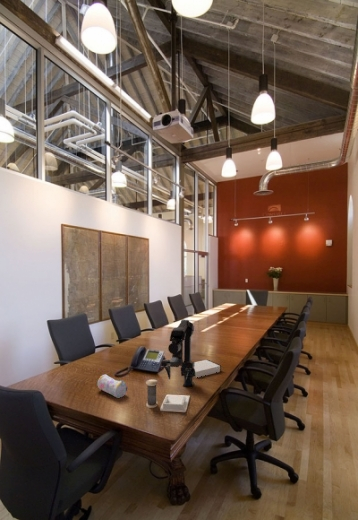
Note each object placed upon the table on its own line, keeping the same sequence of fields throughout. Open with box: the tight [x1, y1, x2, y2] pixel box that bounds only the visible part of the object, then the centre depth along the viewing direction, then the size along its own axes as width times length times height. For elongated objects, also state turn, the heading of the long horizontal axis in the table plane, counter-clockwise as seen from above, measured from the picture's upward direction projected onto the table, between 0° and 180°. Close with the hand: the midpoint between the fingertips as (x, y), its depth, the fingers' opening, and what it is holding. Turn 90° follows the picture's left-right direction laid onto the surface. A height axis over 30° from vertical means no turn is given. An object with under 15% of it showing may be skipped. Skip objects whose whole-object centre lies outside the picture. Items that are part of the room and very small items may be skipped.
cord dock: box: [159, 394, 191, 413], centre depth 155 cm, size 17×14×4 cm
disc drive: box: [193, 359, 222, 379], centre depth 206 cm, size 18×22×5 cm
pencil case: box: [97, 374, 128, 399], centre depth 171 cm, size 21×9×10 cm, turn 50°
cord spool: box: [145, 379, 159, 409], centre depth 154 cm, size 6×6×13 cm
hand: (177, 379), depth 155 cm, fingers open, 9 cm apart
